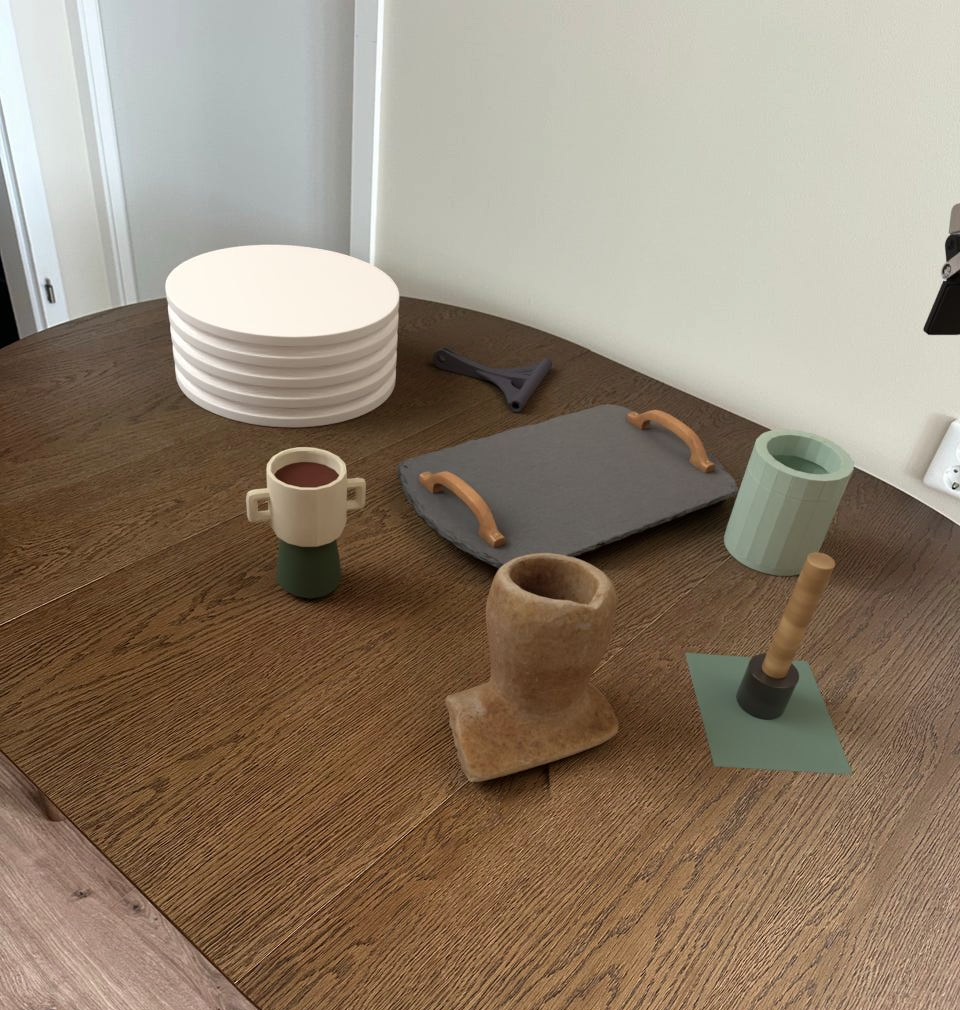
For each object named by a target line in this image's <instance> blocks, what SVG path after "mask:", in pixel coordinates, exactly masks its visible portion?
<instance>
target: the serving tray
mask: <svg viewBox="0 0 960 1010" xmlns="http://www.w3.org/2000/svg"><path fill="white" fill-rule="evenodd" d="M396 475H397V477H398V480H399V482H400V486H401V491H402V492H403V494H404V496H405V498H406V500H407V501H408V502H409V504H410V505H411V506H412V508H413V509H414V512H415V513H416V514H417V516H418V517H419V518H420V519H422V520H423V522H425V523H426V524H427V525H428V526H429V527H430V528H431V529H432V530H433V531H434V532H435V533H436V534H437V535H439V537H441V538H442V539H444V540H445V541H448V542H449V543H450V544H451V545H453V546H454V547H456V548H457V549H460V550H461V551H462V552H464V553H466V554H469V555H470V556H472V557H473V558H475V559H477V560H480V561H481V562H483V563H485V564H488V565H490V566H493V567H495V568H497V569H498V570H499V569H500V568H501V567H502V566H503V565H504V564H505V563H507V562H509V561H510V560H513V559H515V558H518V557H521V556H524V555H530V554H536V553H551V554H560V555H564V556H569V557H574V558H576V557H578V556H581V555H583V554H585V553H588V552H593V551H594V550H597V549H599V548H601V547H603V546H606V545H610V544H612V543H614V542H617V541H621V540H623V539H626V538H629V537H630V536H633V535H635V534H639V533H642V532H644V531H646V530H648V529H653V528H654V527H657V526H659V525H662V524H664V523H665V524H666V523H669V522H671V521H673V520H675V519H678V518H681V517H684V516H686V515H688V514H690V513H693V512H696V511H699V510H701V509H705V508H706V507H710V506H712V505H713V506H716V507H717V506H718V507H719V506H721V505H723V503H725V502H726V501H727V500H728V499H730V498H733V497H736V496H737V495H738V492H739V489H740V488H739V486H738V485H737V482H736V480H735V478H734V477H733V476H732V475H731V474H730V473H729V471H728V470H726V467H724V466H723V464H722V463H721V462H720V461H719V460H718V459H717V458H716V457H715V456H714V455H713V454H710V452H708V451H707V450H706V449H705V447H704V444H703V442H702V440H701V438H700V436H698V435H697V433H695V431H694V430H692V429H691V428H690V427H689V426H688V425H686V424H685V423H684V422H683V421H681V420H679V419H678V418H676V417H674V415H672V414H669V413H667V412H666V411H662V410H658V409H652V410H648V411H645V412H643V413H640V412H638V411H634V410H631V409H629V408H628V407H625V406H621V405H616V404H611V403H607V404H600V405H597V406H594V407H593V406H592V407H590V408H589V407H588V408H585V409H581V410H580V411H576V412H572V413H568V414H562V415H559V416H555V417H552V418H549V419H547V420H545V421H541V422H538V423H534V424H529V425H522V426H518V427H516V428H510V429H507V430H505V431H502V432H498V433H494V434H492V435H488V436H486V437H480V438H477V439H470V440H467V441H465V442H462V443H460V444H456V445H454V446H453V447H446V448H443V449H440V450H437V451H431V452H428V453H424V454H421V455H418V456H414V457H410V458H407V459H405V460H403V461H400V463H399V464H398V465H397V467H396Z"/></svg>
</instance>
